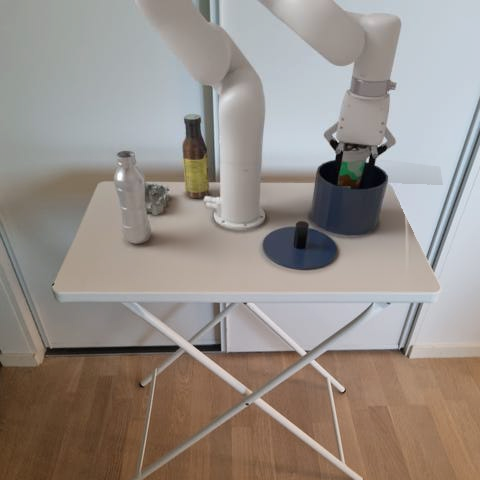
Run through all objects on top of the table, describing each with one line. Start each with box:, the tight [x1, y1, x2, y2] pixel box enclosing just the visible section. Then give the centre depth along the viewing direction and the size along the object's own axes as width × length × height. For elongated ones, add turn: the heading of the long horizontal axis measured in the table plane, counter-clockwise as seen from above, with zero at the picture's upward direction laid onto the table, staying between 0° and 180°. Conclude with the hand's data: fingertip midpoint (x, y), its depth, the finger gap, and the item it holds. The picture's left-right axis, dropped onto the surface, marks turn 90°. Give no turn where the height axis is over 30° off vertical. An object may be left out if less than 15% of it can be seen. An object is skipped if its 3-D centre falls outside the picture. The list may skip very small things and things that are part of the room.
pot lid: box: [262, 220, 338, 271], centre depth 102 cm, size 17×17×7 cm
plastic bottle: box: [113, 150, 152, 244], centre depth 99 cm, size 6×7×20 cm
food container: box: [338, 143, 371, 189], centre depth 105 cm, size 12×6×10 cm, turn 168°
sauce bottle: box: [181, 113, 210, 199], centre depth 116 cm, size 7×6×20 cm
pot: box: [310, 159, 389, 236], centre depth 111 cm, size 16×16×12 cm
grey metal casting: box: [145, 182, 170, 216], centre depth 117 cm, size 11×8×4 cm
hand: (353, 170), depth 106 cm, fingers closed on food container, 6 cm apart
